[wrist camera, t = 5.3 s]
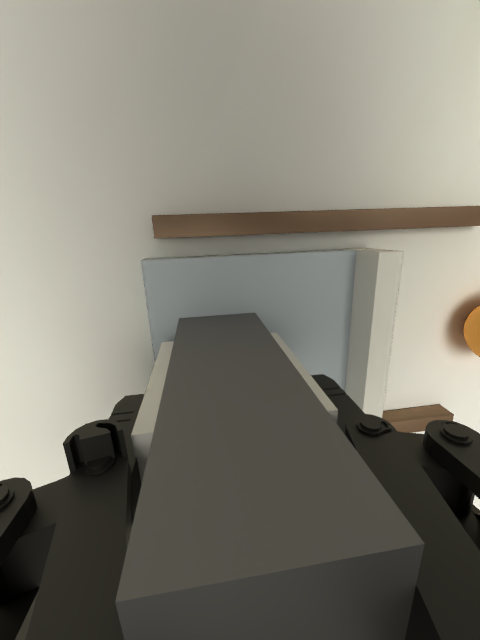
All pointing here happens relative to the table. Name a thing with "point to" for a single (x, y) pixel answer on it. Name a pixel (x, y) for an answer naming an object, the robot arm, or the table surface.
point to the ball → (473, 331)
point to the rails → (326, 222)
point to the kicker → (267, 456)
